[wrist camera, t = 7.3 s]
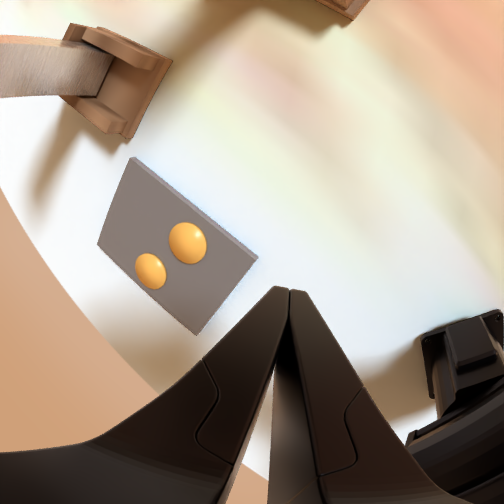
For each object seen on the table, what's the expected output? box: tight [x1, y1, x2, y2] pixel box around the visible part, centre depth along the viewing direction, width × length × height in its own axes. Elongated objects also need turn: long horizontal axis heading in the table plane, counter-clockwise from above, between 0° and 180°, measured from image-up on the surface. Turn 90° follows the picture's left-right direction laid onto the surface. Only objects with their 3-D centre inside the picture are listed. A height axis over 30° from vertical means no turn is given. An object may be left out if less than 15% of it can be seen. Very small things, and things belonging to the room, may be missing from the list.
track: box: [58, 23, 172, 138], centre depth 18 cm, size 9×7×4 cm
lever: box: [0, 35, 115, 98], centre depth 12 cm, size 4×4×15 cm
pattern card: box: [97, 157, 258, 336], centre depth 23 cm, size 12×9×1 cm
